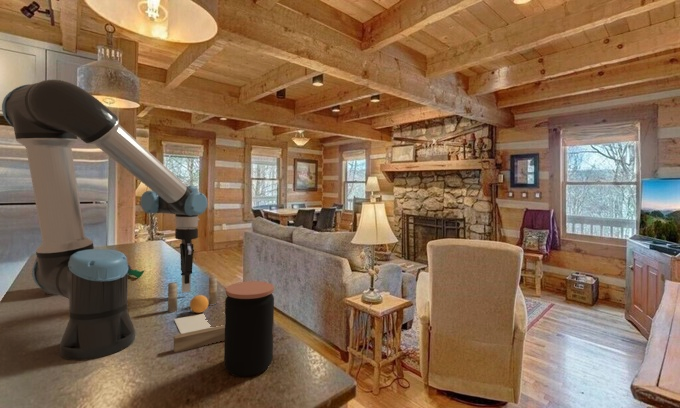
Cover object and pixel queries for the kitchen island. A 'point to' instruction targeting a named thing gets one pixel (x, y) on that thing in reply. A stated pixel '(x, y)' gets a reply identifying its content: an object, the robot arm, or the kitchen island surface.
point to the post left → (172, 297)
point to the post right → (212, 290)
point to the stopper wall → (198, 338)
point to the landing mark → (192, 323)
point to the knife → (134, 272)
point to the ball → (199, 304)
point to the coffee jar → (248, 327)
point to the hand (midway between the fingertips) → (186, 291)
